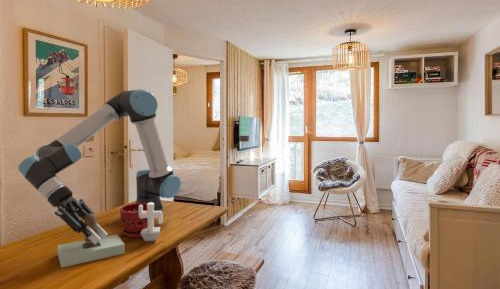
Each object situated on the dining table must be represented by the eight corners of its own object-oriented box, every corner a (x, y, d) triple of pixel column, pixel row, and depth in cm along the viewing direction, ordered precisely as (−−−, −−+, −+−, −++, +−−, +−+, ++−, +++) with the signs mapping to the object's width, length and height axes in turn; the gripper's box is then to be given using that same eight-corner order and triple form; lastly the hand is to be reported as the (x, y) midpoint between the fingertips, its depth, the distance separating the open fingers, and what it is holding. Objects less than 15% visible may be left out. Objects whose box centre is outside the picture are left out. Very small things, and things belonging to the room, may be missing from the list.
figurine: (162, 241, 126) (162, 204, 125) (137, 242, 124) (137, 205, 123) (163, 235, 134) (163, 200, 132) (139, 236, 132) (139, 201, 130)
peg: (96, 246, 116) (96, 212, 116) (99, 250, 113) (98, 215, 112) (83, 249, 114) (82, 214, 113) (85, 253, 110) (84, 217, 109)
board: (116, 242, 124) (116, 234, 124) (124, 253, 115) (124, 244, 114) (57, 254, 112) (57, 245, 112) (61, 267, 103) (60, 257, 102)
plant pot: (118, 232, 136) (117, 204, 135) (149, 227, 143) (148, 201, 142) (123, 242, 125) (123, 212, 124) (156, 236, 132) (156, 208, 131)
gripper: (64, 194, 122) (106, 237, 122) (31, 205, 105) (80, 256, 105) (77, 181, 121) (119, 224, 121) (46, 190, 104) (95, 241, 104)
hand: (101, 239), depth 113 cm, fingers closed on peg, 4 cm apart
